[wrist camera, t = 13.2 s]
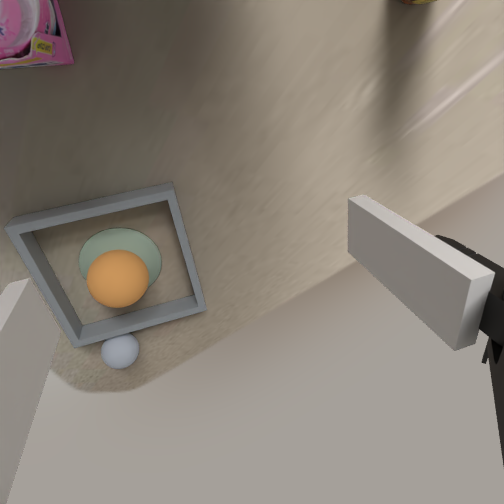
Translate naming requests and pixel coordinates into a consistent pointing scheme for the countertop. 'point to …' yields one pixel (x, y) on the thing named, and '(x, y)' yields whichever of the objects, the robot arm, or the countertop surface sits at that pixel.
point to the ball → (117, 278)
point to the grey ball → (120, 351)
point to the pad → (121, 241)
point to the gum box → (32, 34)
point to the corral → (54, 293)
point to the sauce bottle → (417, 1)
